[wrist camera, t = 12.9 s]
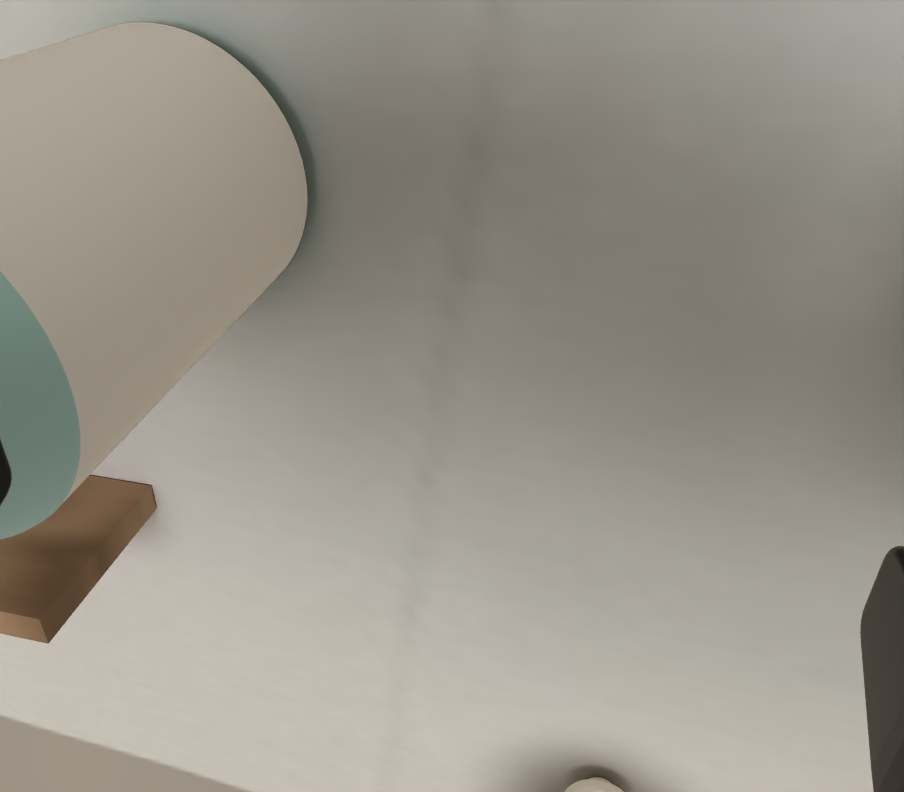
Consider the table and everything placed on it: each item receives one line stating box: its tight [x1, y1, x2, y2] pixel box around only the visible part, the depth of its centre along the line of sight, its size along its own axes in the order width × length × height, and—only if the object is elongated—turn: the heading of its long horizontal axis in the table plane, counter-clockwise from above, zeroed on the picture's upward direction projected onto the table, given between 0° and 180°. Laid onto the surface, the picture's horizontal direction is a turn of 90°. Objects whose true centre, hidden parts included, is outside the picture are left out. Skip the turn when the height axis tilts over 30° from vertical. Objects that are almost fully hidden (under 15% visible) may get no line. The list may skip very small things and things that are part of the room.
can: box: [0, 22, 307, 539], centre depth 17 cm, size 7×7×12 cm
